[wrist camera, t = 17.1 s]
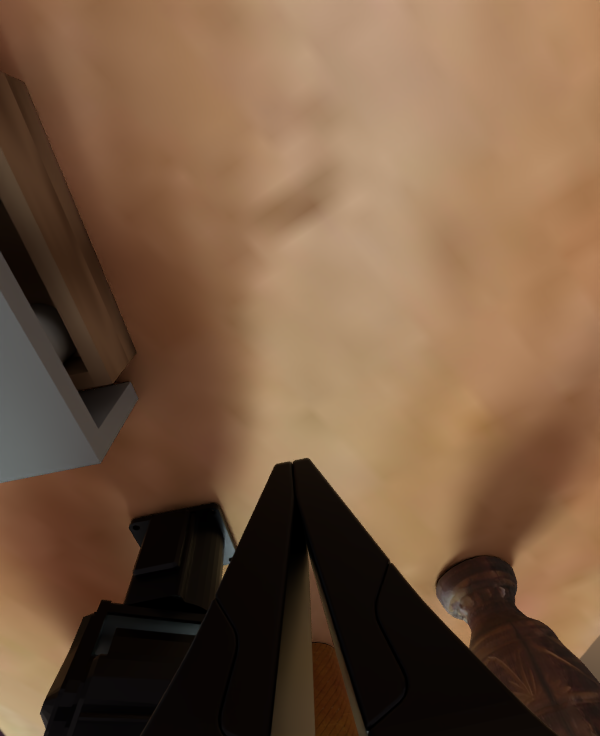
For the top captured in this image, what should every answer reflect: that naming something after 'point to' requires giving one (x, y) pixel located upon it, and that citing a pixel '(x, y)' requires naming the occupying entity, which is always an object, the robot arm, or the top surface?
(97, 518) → the top surface
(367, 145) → the top surface
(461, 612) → the mortar and pestle
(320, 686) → the disposable coffee cup
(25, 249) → the walnut tray
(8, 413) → the grey shelf
